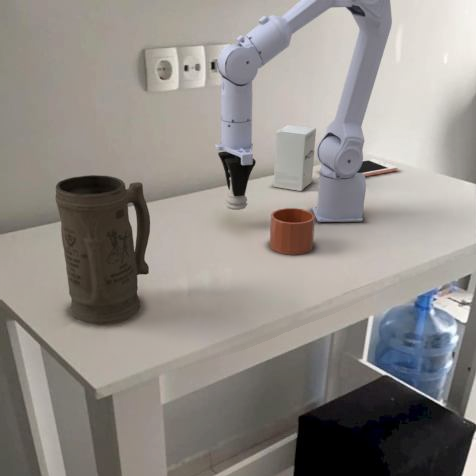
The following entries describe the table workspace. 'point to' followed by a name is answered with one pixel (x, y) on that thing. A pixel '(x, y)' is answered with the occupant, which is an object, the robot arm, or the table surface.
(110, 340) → the table surface
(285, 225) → the cup
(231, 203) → the rook chess piece
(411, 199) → the table surface
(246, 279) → the table surface
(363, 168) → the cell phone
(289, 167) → the white packaging box
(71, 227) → the beer stein
